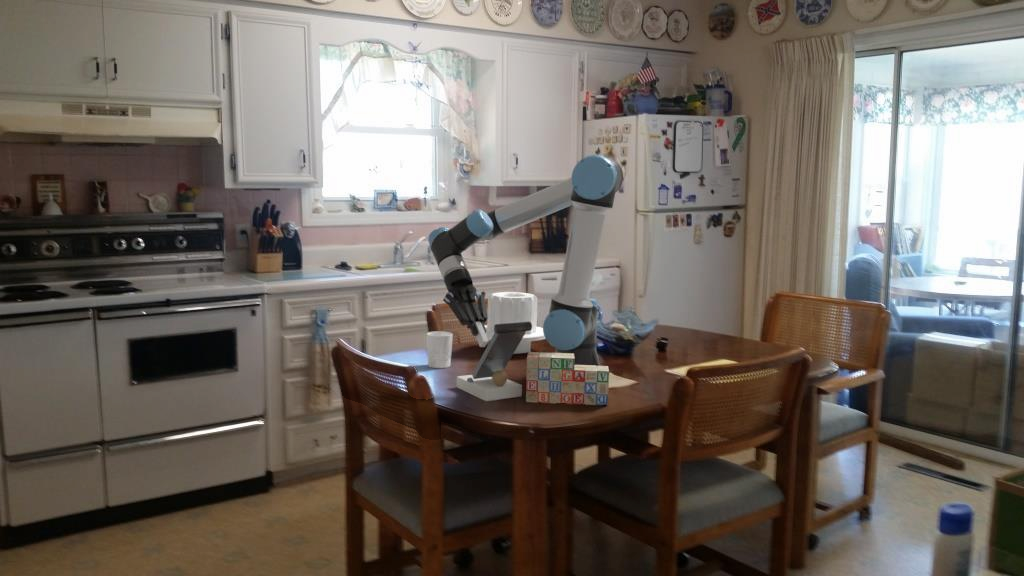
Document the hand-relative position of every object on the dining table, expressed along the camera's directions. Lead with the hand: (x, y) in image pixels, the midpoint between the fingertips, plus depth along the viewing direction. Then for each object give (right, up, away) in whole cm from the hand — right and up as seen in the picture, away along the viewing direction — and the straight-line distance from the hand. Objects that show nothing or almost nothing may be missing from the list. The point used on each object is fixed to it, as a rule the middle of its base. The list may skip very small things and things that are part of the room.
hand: (484, 344), depth 223 cm
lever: (0, -9, +1) cm, 8 cm away
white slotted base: (+1, -13, 0) cm, 13 cm away
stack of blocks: (+22, -15, -7) cm, 27 cm away
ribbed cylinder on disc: (+7, -6, +53) cm, 54 cm away
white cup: (-15, -9, +29) cm, 33 cm away
